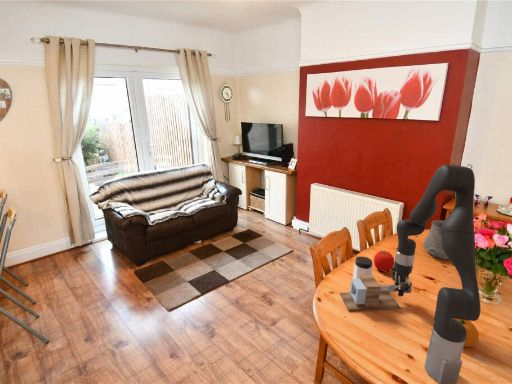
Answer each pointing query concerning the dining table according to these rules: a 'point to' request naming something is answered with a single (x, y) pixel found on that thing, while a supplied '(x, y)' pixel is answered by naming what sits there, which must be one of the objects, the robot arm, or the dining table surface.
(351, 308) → the bearing block
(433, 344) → the robot arm
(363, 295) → the block
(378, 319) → the dining table surface
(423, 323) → the dining table surface
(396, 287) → the shaft
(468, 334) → the fruit
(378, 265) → the tomato
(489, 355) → the dining table surface
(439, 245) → the vessel
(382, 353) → the dining table surface
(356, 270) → the jar
